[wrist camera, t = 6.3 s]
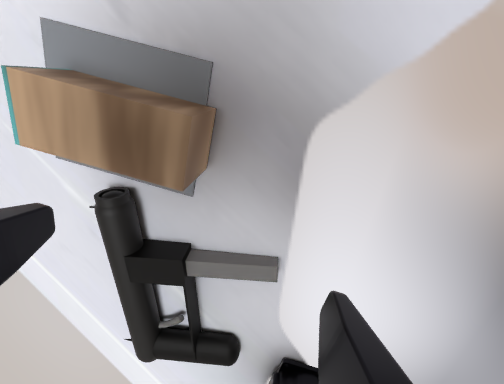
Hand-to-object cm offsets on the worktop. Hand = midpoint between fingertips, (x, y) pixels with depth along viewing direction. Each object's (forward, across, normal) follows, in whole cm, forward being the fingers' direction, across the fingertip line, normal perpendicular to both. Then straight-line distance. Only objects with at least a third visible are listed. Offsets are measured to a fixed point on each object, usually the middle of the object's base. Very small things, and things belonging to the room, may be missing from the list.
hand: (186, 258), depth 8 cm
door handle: (+12, +2, +14) cm, 19 cm away
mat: (+12, +10, 0) cm, 15 cm away
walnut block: (+9, +3, 0) cm, 10 cm away
